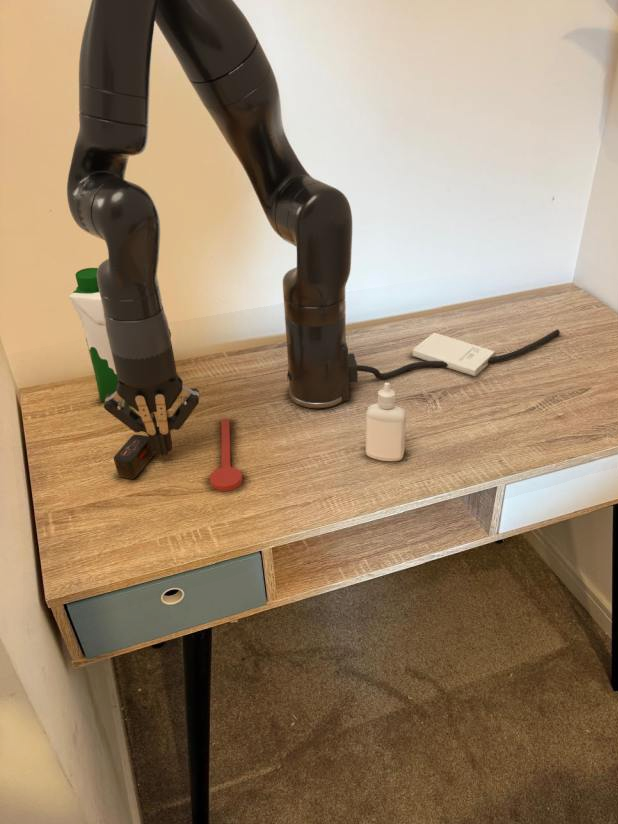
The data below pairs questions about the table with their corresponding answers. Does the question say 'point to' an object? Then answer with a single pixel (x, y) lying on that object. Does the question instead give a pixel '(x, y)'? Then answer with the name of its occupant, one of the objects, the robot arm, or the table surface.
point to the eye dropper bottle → (385, 427)
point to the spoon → (225, 464)
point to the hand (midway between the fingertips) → (163, 452)
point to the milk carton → (95, 330)
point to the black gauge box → (133, 456)
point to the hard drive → (454, 353)
